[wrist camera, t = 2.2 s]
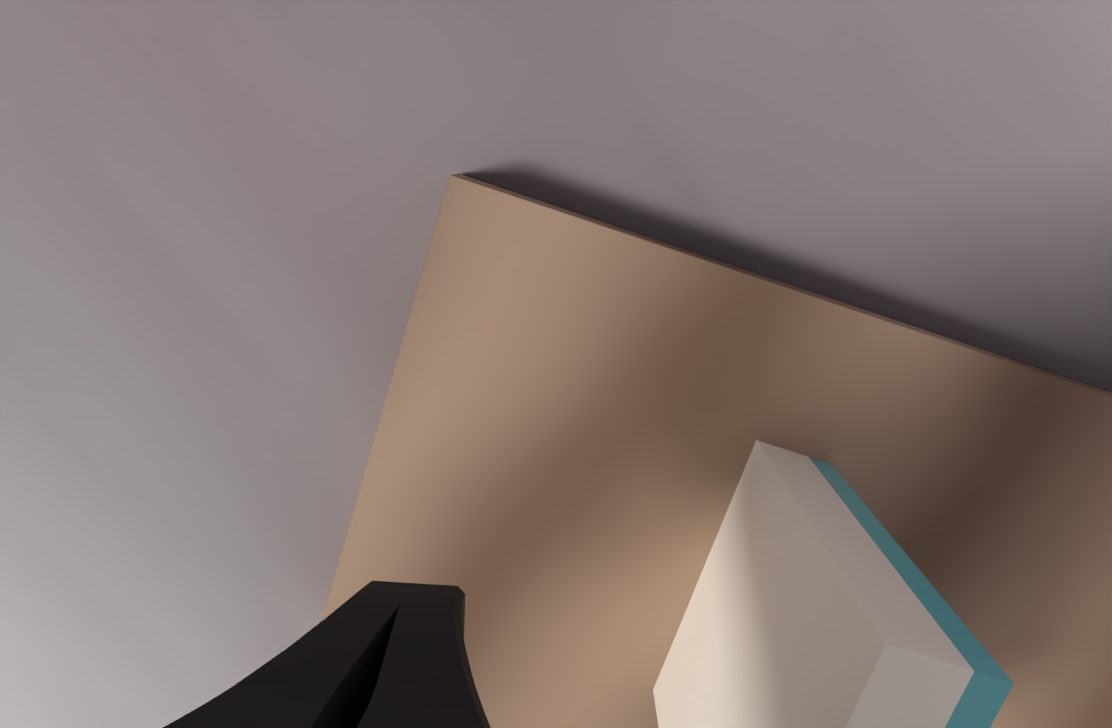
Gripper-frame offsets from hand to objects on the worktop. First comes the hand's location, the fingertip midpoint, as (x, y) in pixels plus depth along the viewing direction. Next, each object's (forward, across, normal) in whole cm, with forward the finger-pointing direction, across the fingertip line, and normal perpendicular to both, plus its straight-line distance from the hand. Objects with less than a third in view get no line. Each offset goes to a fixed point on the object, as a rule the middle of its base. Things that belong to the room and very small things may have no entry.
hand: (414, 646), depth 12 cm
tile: (+5, -6, +2) cm, 8 cm away
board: (+6, -8, +4) cm, 11 cm away
